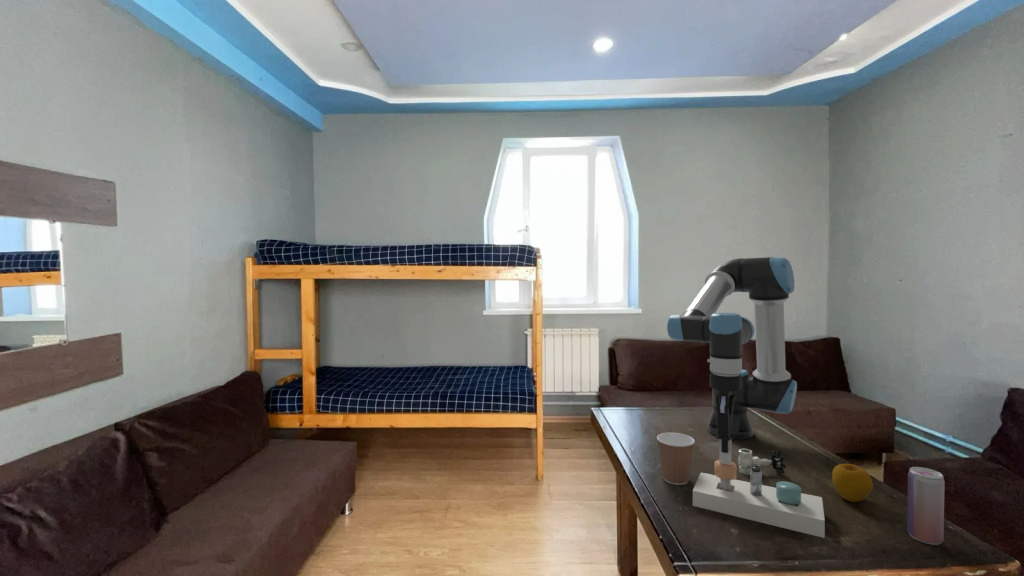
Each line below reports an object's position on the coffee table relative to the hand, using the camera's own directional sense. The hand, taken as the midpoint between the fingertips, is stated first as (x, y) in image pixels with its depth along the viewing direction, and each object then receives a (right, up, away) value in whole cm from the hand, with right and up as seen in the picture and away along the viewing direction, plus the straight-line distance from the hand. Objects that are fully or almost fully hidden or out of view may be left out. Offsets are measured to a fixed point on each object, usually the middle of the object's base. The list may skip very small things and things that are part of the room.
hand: (725, 463), depth 117 cm
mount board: (+6, -10, -3) cm, 13 cm away
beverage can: (+37, -11, -16) cm, 42 cm away
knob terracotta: (0, -7, 0) cm, 7 cm away
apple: (+34, -10, +1) cm, 35 cm away
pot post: (+6, -7, -3) cm, 9 cm away
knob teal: (+12, -10, -7) cm, 17 cm away
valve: (+18, -10, +17) cm, 27 cm away
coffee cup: (-8, -10, +14) cm, 19 cm away
